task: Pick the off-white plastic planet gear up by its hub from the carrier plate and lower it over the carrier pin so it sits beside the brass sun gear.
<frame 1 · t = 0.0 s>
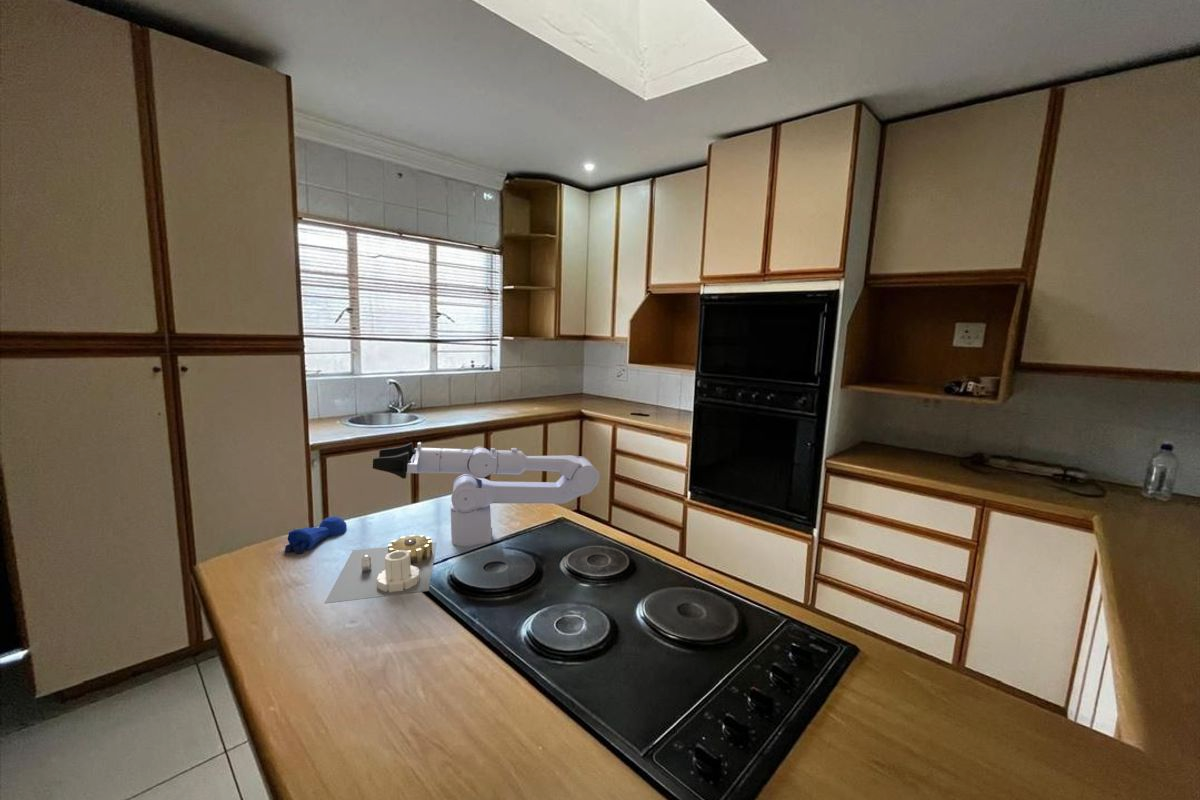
hand: (376, 458, 108), 22 cm above the countertop, tool horizontal, fingers open, 7 cm apart
toy: (319, 544, 115), on the countertop
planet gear: (398, 581, 96), point 1 cm above the countertop, touching carrier plate
sun gear: (410, 556, 107), resting on carrier plate
carrier pin: (366, 571, 100), resting on carrier plate
carrier plate: (387, 572, 101), on the countertop
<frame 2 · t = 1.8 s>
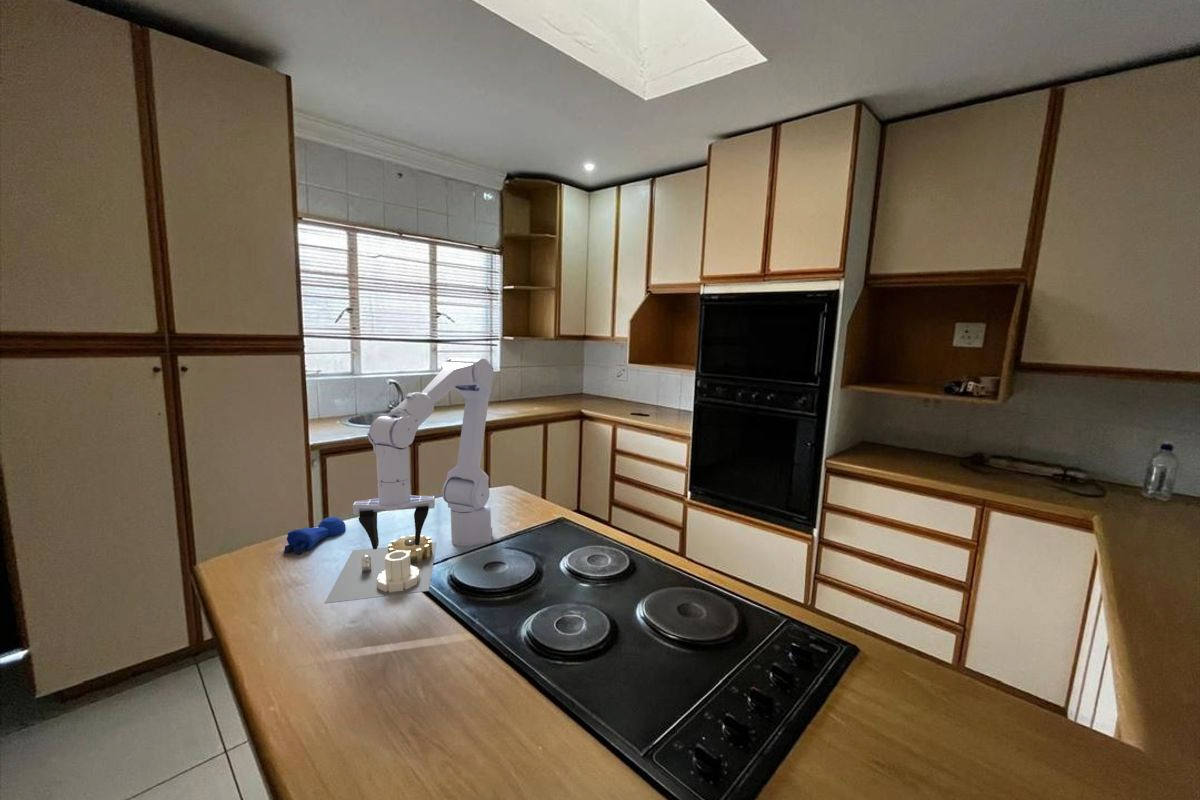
hand: (396, 545, 95), 8 cm above the countertop, tool pointing down, fingers open, 7 cm apart
nothing on the countertop moved.
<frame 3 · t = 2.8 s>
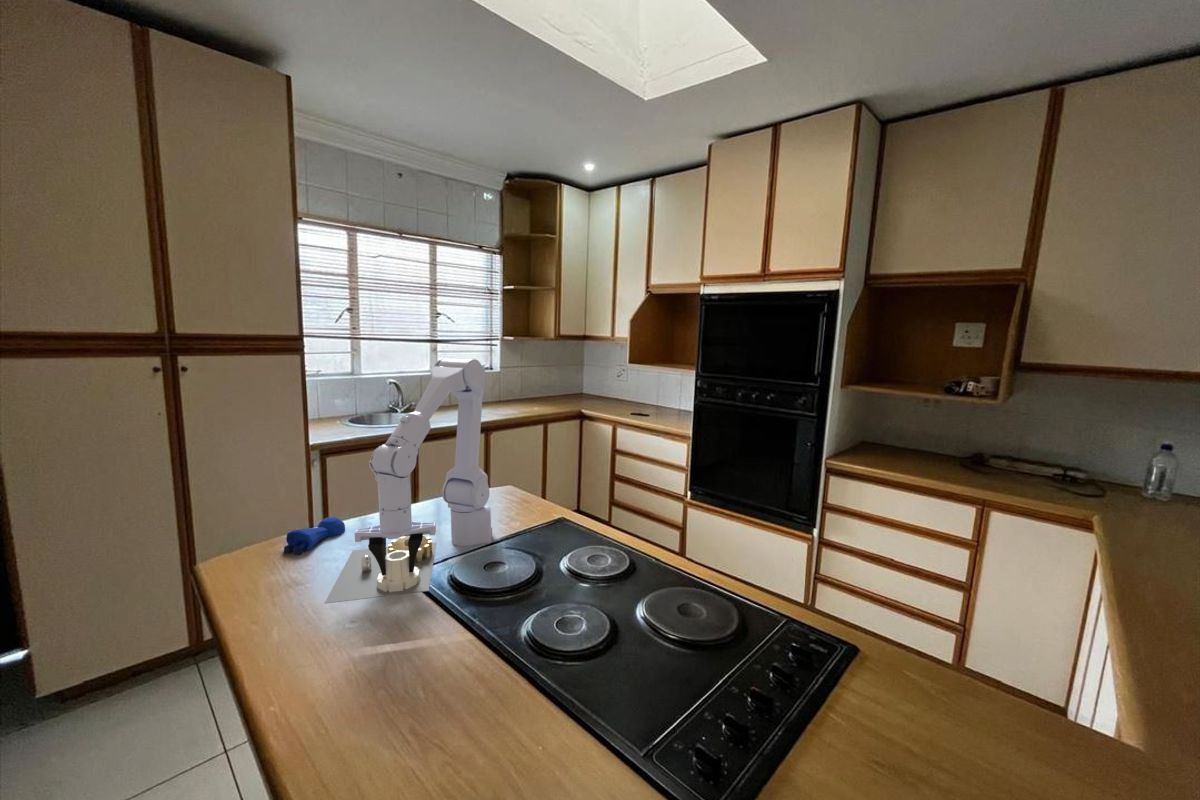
hand: (398, 571, 96), 3 cm above the countertop, tool pointing down, fingers closed on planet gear, 4 cm apart
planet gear: (398, 581, 96), point 1 cm above the countertop, touching carrier plate, gripper
everything else where it was.
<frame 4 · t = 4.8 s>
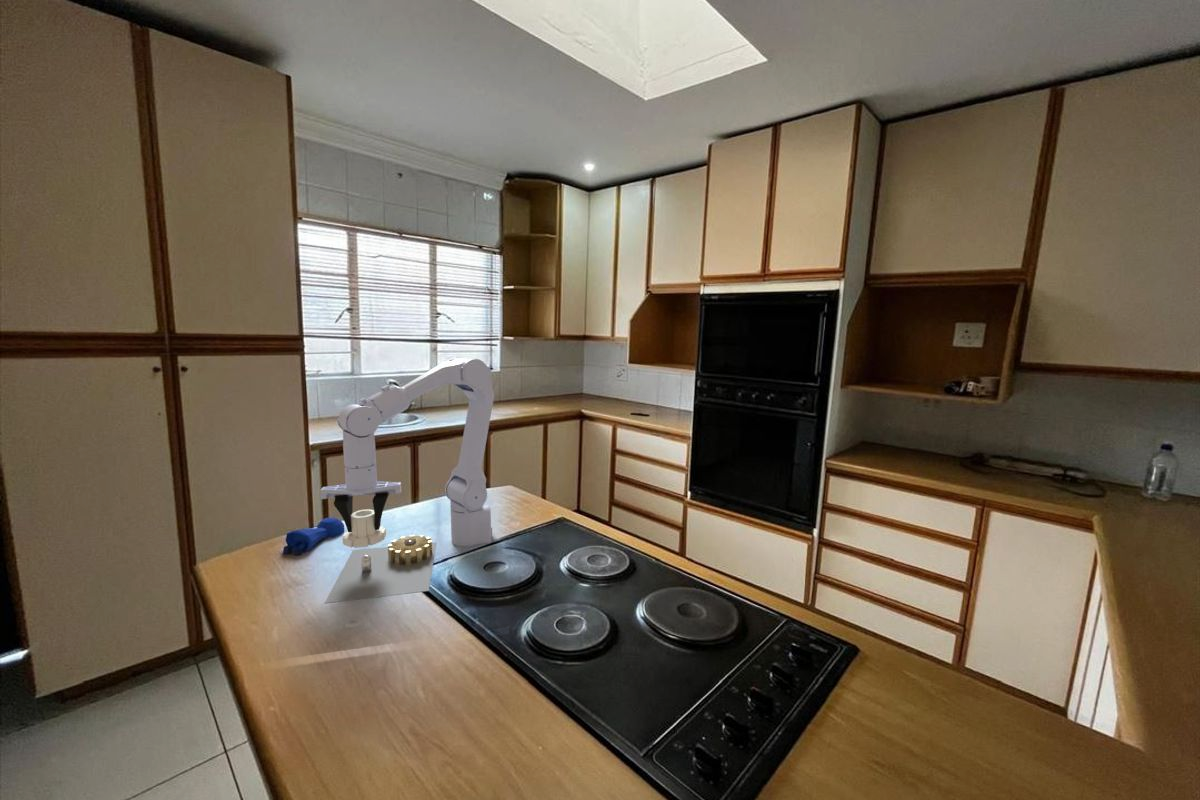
hand: (364, 529, 98), 10 cm above the countertop, tool pointing down, fingers closed on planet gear, 4 cm apart
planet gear: (364, 539, 99), point 8 cm above the countertop, touching gripper
everything else where it was.
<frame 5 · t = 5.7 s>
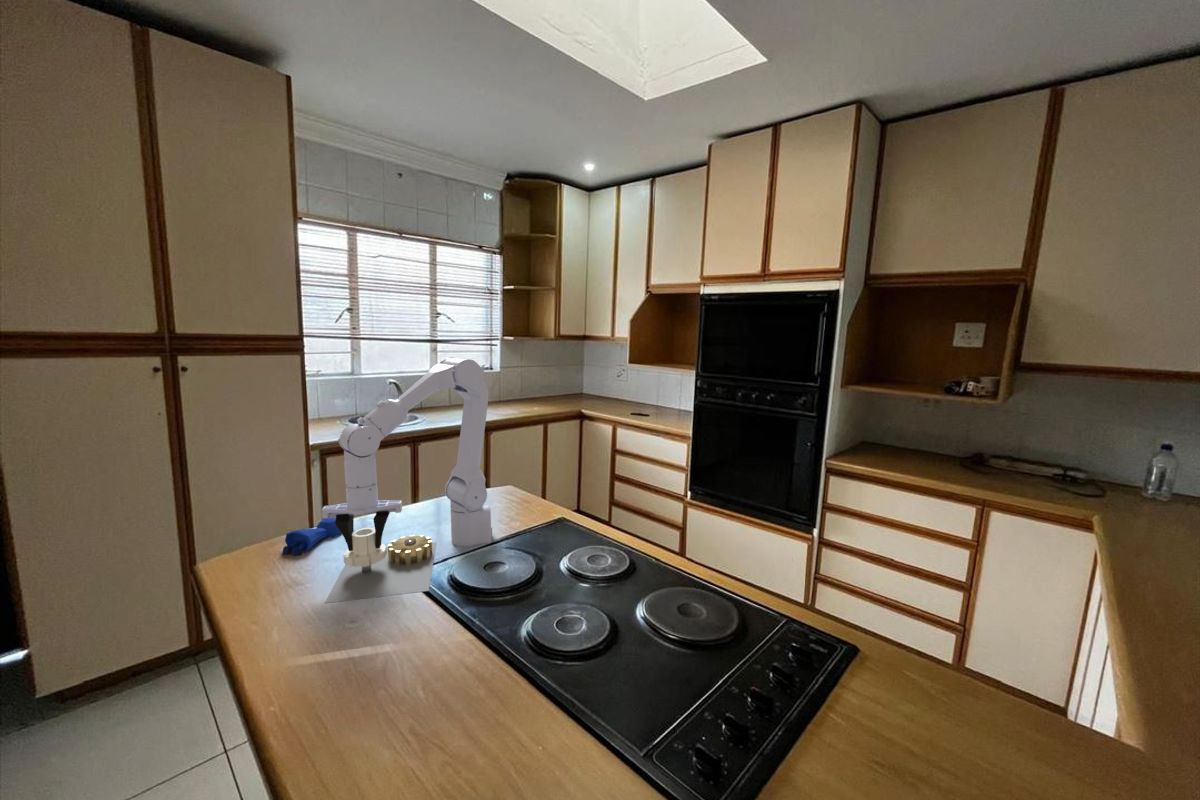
hand: (365, 547, 99), 6 cm above the countertop, tool pointing down, fingers closed on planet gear, 4 cm apart
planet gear: (365, 557, 99), point 4 cm above the countertop, touching gripper
everything else where it was.
when the fingers open (4 cm above the countertop, at t = 6.6 s): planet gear drops 1 cm, resting on carrier plate.
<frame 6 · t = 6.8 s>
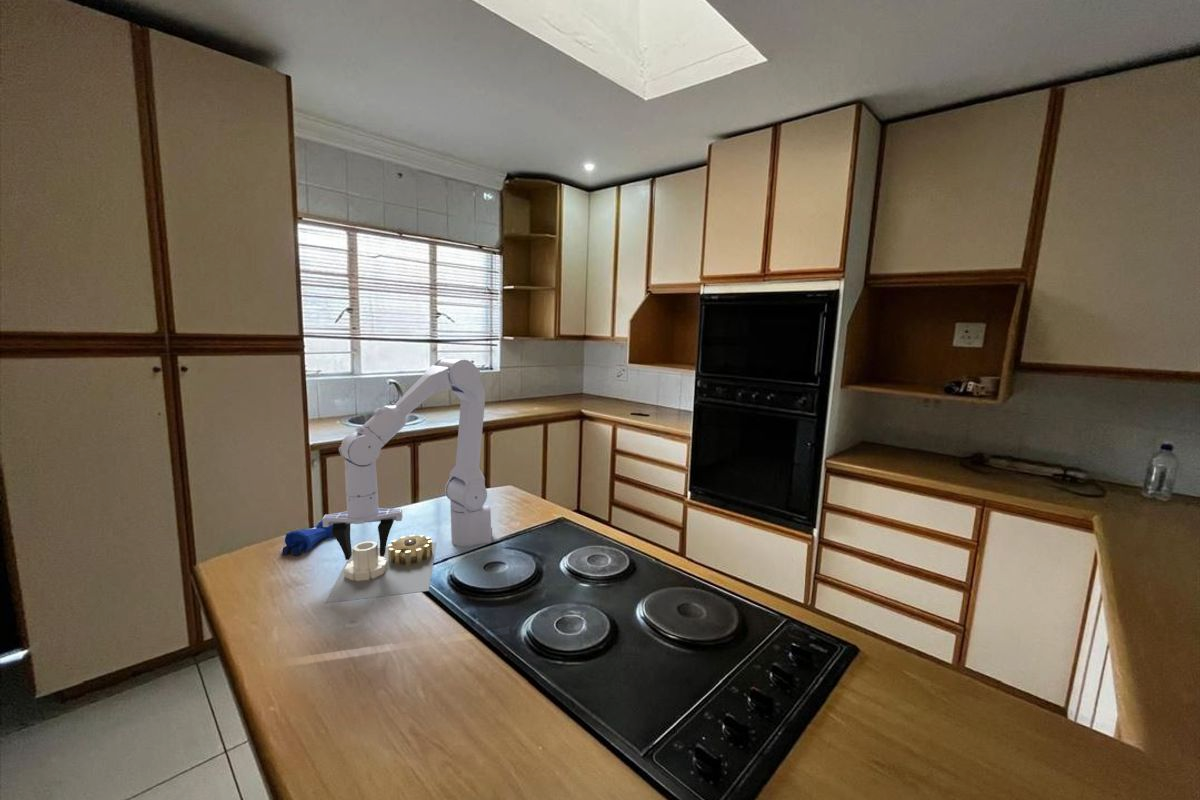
hand: (365, 555, 99), 4 cm above the countertop, tool pointing down, fingers open, 6 cm apart
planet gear: (366, 571, 100), point 1 cm above the countertop, touching carrier plate
everything else where it was.
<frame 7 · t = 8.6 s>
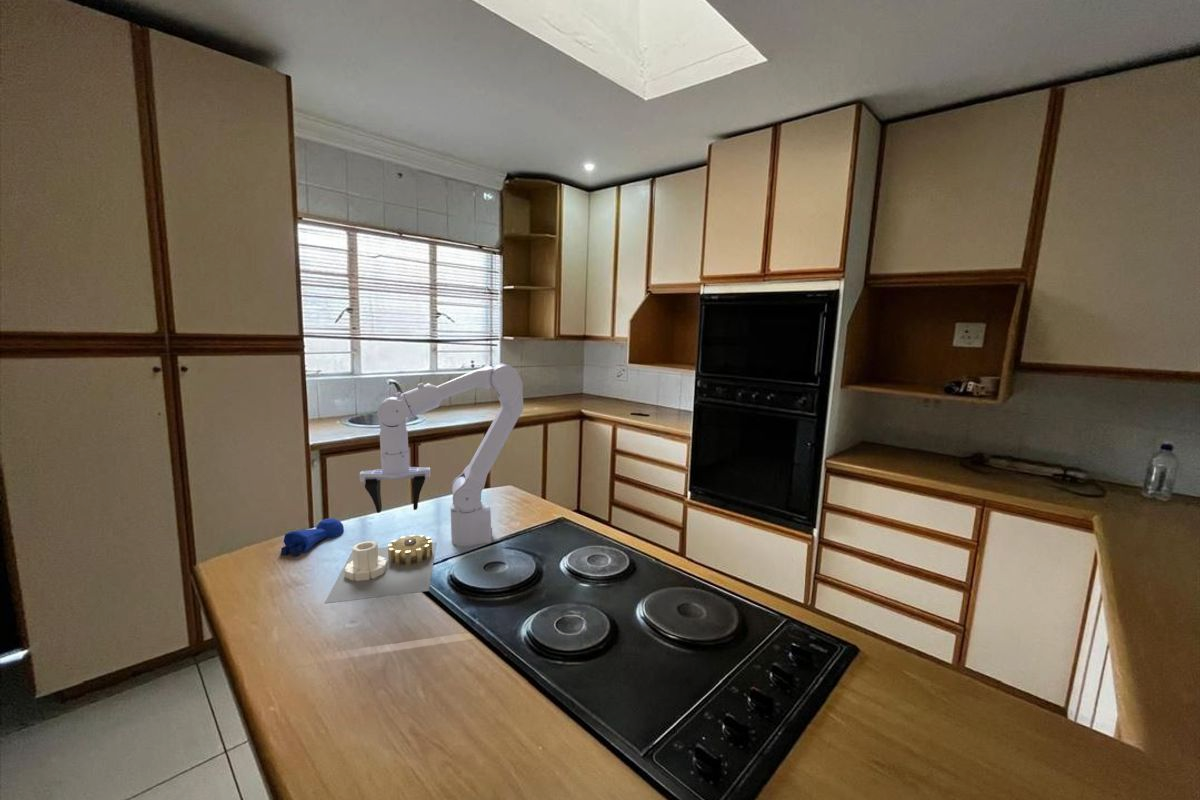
hand: (397, 509, 109), 10 cm above the countertop, tool pointing down, fingers open, 7 cm apart
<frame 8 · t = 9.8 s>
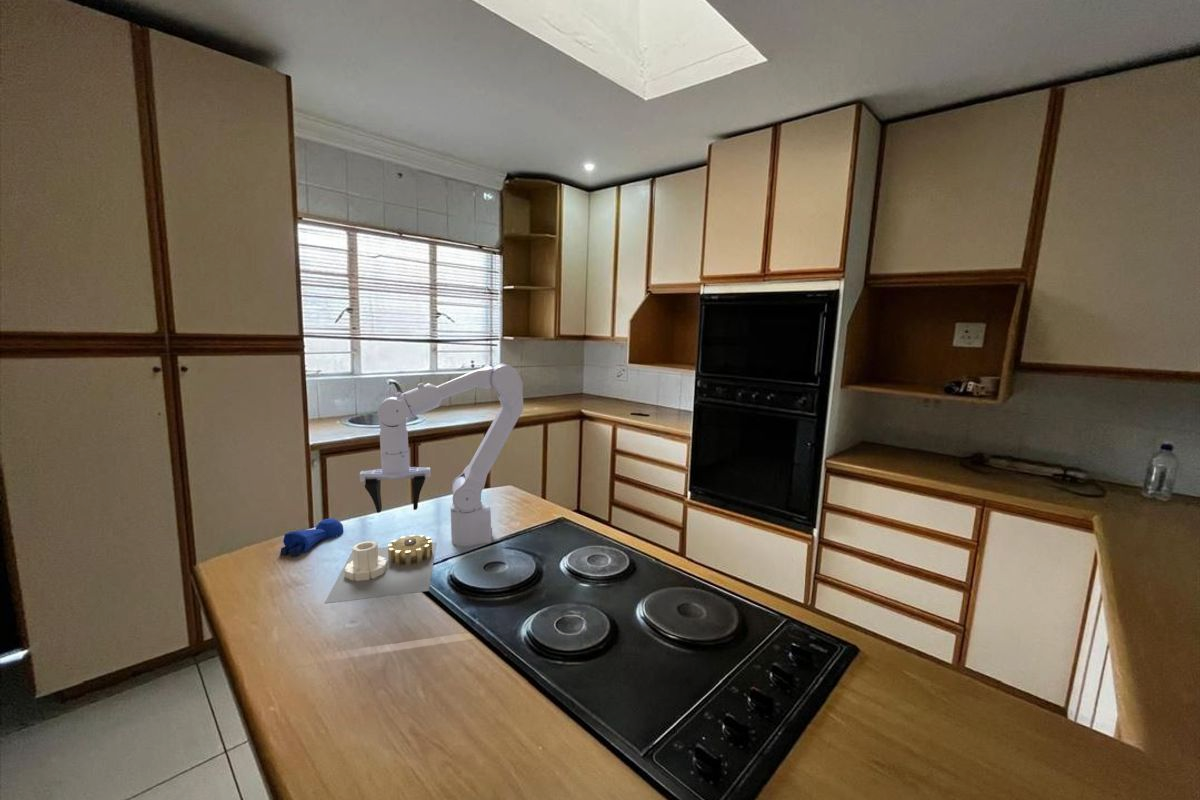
hand: (397, 509, 109), 10 cm above the countertop, tool pointing down, fingers open, 7 cm apart
at the end: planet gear 0.1 cm from the carrier pin (horizontally); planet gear point 0.8 cm above the countertop; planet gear tilted 0° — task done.
